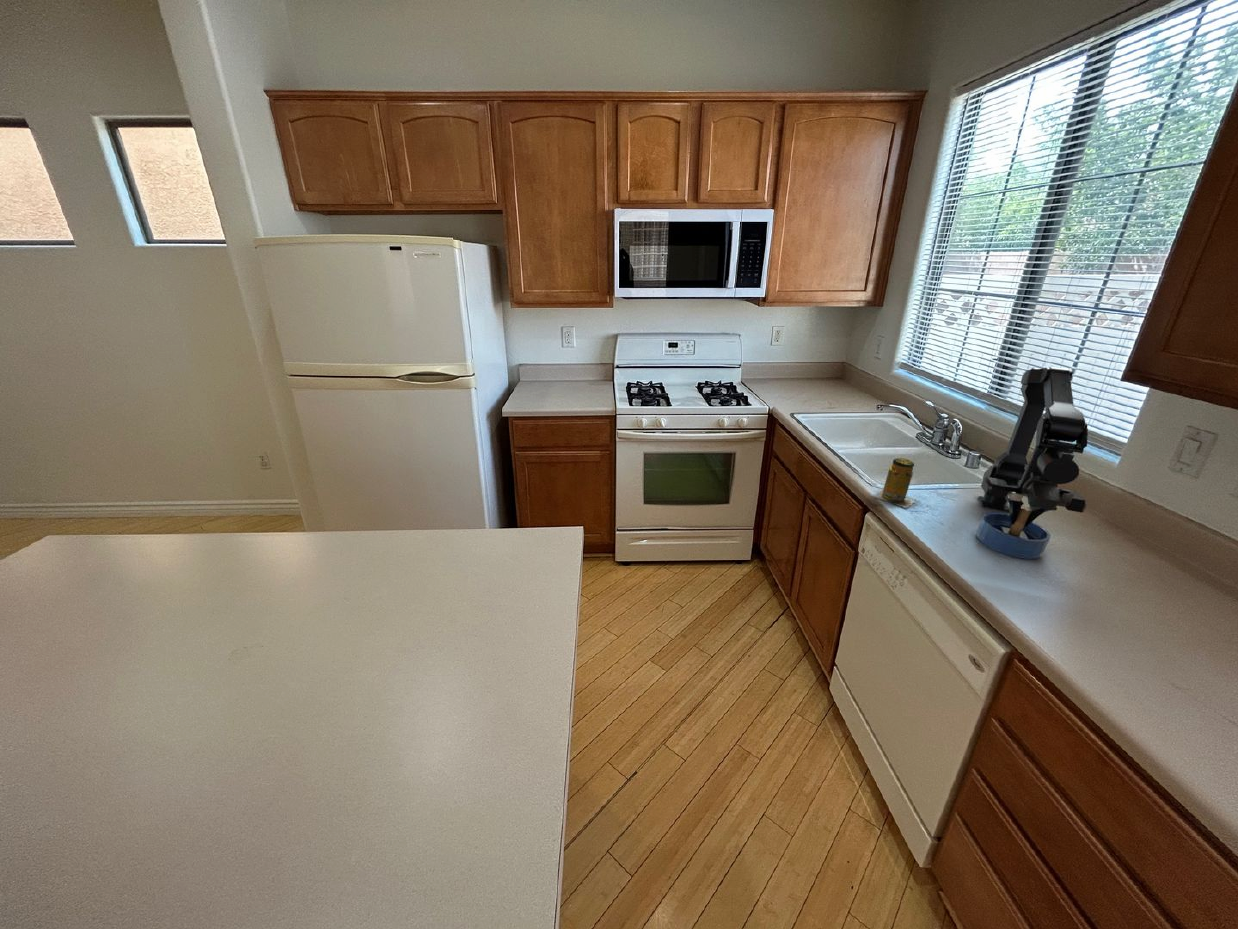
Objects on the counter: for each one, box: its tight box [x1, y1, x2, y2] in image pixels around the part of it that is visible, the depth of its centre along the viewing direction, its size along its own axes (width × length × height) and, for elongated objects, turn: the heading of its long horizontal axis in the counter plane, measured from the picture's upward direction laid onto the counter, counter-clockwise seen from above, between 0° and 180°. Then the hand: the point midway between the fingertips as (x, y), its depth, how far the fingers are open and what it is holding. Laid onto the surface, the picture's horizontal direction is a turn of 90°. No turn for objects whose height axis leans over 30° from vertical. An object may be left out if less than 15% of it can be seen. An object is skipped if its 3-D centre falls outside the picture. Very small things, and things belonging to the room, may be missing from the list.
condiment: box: [875, 457, 917, 509], centre depth 136 cm, size 7×8×12 cm
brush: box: [999, 505, 1032, 539], centre depth 116 cm, size 4×5×10 cm
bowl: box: [975, 512, 1051, 560], centre depth 117 cm, size 13×13×6 cm
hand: (1018, 524), depth 116 cm, fingers closed on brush, 2 cm apart
